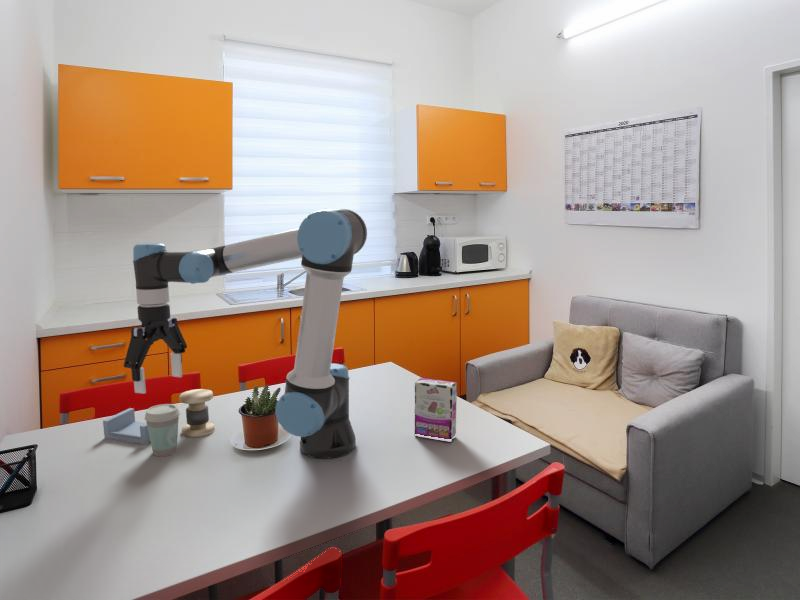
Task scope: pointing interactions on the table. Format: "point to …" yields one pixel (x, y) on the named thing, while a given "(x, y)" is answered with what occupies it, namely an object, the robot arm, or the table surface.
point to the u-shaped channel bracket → (126, 428)
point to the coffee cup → (163, 428)
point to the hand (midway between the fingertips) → (159, 384)
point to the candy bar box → (435, 408)
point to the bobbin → (197, 413)
